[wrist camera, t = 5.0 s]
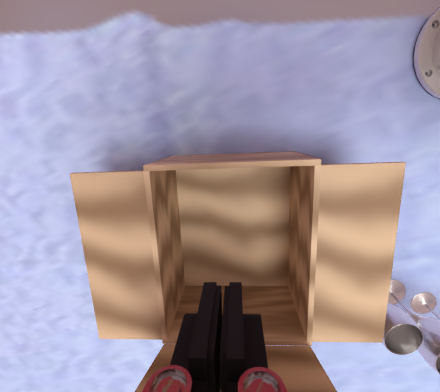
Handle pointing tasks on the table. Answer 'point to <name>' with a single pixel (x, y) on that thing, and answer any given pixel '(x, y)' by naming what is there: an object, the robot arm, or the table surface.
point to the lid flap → (272, 368)
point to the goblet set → (412, 326)
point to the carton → (242, 243)
